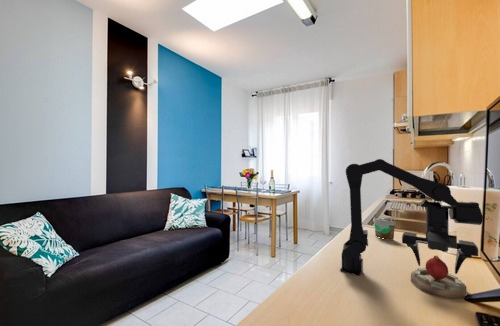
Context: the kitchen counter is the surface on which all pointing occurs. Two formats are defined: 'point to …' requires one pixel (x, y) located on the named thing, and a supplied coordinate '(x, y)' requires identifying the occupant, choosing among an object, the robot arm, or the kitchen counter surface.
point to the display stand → (439, 284)
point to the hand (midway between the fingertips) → (436, 269)
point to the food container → (384, 228)
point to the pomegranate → (436, 268)
